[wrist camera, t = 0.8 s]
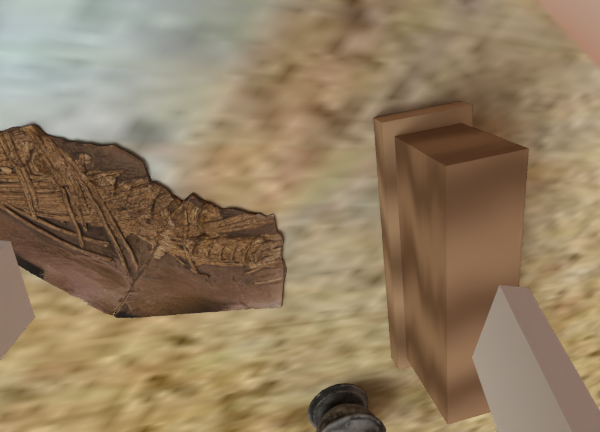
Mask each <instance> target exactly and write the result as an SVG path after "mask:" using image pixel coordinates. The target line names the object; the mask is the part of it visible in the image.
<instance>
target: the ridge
mask: <svg viewBox="0 0 600 432" xmlns="http://www.w3.org/2000/svg"><path fill="white" fill-rule="evenodd" d="M472 114H473V105H471V104H468V103H464V102H461V101H459V102H454V103H449V104H443V105H438V106H433V107H428V108H423V109H418V110H412V111H407V112H402V113H397V114H392V115H387V116H381V117H376V118H374V131H375V145H376V158H377V171H378V185H379V198H380V211H381V225H382V238H383V252H384V265H385V278H386V292H387V305H388V318H389V332H390V345H391V358H392V359H393V361H394V363H395V365H396V366H397V368H398V370H401V369H405V368H409V367H413V369H414V370H415V372H416V374H417V375H418V377H419V379H420V380H421V382H422V383H423V385H424V387H425V388H426V390H427V392H428V393H429V395H430V397H431V398H432V400H433V401H434V403H435V405H436V406H437V408H438V410H439V411H440V413H441V414H442V416H443V418H444V419H445V421H446V423H447V424H451V423H454V422H458V421H461V420H465V419H468V418H472V417H475V416H479V415H482V414H486V413H489V412H491V411H490V408H489V405H488V403H487V400H486V397H485V394H484V391H483V388H482V385H481V382H480V379H479V376H478V373H477V370H476V367H475V364H474V362H473V359H472V356H473V354H474V351H475V348H476V346H477V343H478V340H479V338H480V335H481V332H482V330H483V327H484V324H485V322H486V319H487V316H488V314H489V311H490V309H491V306H492V303H493V301H494V298H495V295H496V293H497V290H498V287H499V285H505V286H516V287H519V276H520V262H521V248H522V235H523V221H524V207H525V193H526V179H527V166H528V152H529V149H528V148H526V147H523V146H520V145H518V144H515V143H513V142H510V141H507V140H505V139H502V138H500V137H497V136H494V135H492V134H489V133H486V132H484V131H481V130H479V129H476V128H473V127H472Z"/></svg>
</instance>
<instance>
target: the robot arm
mask: <svg viewBox="0 0 600 432" xmlns="http://www.w3.org/2000/svg"><path fill="white" fill-rule="evenodd" d="M34 317H35V316H34V312H33V309H32V306H31V303H30V300H29V297H28V294H27V291H26V288H25V285H24V281H23V278H22V275H21V272H20V269H19V266H18V263H17V260H16V257H15V254H14V251H13V247H12V244H11V241H1V240H0V360H1V358H2V357H3V356H4V355H5V353H6V352H7V351H8V350H9V349H10V347H11V346H12V345H13V344H14V342H15V341H16V340H17V339H18V337H19V336H20V335H21V334H22V332H23V331H24V330H25V329H26V327H27V326H28V325H29V324H30V322H31V321H32V320H33V319H34ZM472 359H473V362H474V364H475V367H476V370H477V373H478V376H479V379H480V382H481V385H482V388H483V391H484V394H485V397H486V400H487V403H488V405H489V408H490V411H491V414H492V417H493V420H494V423H495V426H496V429H497V432H600V411H599V409H598V407H597V405H596V404H595V402H594V400H593V398H592V397H591V395H590V393H589V391H588V390H587V388H586V386H585V385H584V383H583V381H582V379H581V378H580V376H579V374H578V372H577V371H576V369H575V367H574V366H573V364H572V362H571V360H570V359H569V357H568V355H567V353H566V352H565V350H564V348H563V346H562V345H561V343H560V341H559V340H558V338H557V336H556V334H555V333H554V331H553V329H552V327H551V326H550V324H549V322H548V320H547V319H546V317H545V315H544V314H543V312H542V310H541V308H540V307H539V305H538V303H537V301H536V300H535V298H534V296H533V294H532V293H531V291H530V289H529V288H527V287H516V286H505V285H499V287H498V290H497V293H496V295H495V298H494V301H493V303H492V306H491V309H490V311H489V314H488V316H487V319H486V322H485V324H484V327H483V330H482V332H481V335H480V338H479V340H478V343H477V346H476V348H475V351H474V354H473V356H472Z"/></svg>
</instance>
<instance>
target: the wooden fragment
mask: <svg viewBox="0 0 600 432" xmlns="http://www.w3.org/2000/svg"><path fill="white" fill-rule="evenodd" d="M0 240H1V241H11V244H12V247H13V251H14V254H15V257H16V260H17V263H18V265H19V266H21V267H22V268H24V269H25V270H27V271H29V272H30V273H32V274H34V275H36V276H37V277H40V278H41V279H43V280H45V281H47V282H49V283H50V284H52V285H54V286H56V287H58V288H60V289H62V290H64V291H65V292H67V293H69V294H70V295H72V296H74V297H78V298H80V299H83V300H84V301H85V302H88V305H90V306H93V307H94V308H96V309H98V310H100V311H102V312H103V313H106V314H110V315H113V313H114V311H116V309H117V308H119V309H118V310H117V312H115V314H114V316H115V317H117V318H133V317H150V316H165V315H176V314H189V313H202V312H219V311H229V310H241V309H251V308H253V309H262V308H279V307H281V306H282V298H283V289H284V281H285V277H286V272H287V268H286V264H285V262H284V260H283V259H282V251H281V250H282V245H283V238H282V236H281V235H280V234H279V233H278V232H277V231H276V226H275V219H274V215H273V214H272V215H268V216H265V215H262V214H260V213H257V214H254V213H253V214H247V213H246V212H244V211H242V210H237V209H235V208H234V210H233V209H219V208H218V207H214V206H213V205H212V204H211V203H209V202H205V201H203V200H201V199H200V198H198V197H197V196H195V195H193V194H191V195H190V196H188V197H187V198H186V199H185V200H184V201H182V200H180V199H178V198H177V197H176V196H175V195H173V194H171V193H170V191H168V190H166V189H165V188H164V187H162V186H160V185H158V184H156V183H155V182H151V180H150V177H149V175H148V173H147V170H146V169H145V167H144V164H143V162H142V161H140V160H139V159H137V158H136V157H135V156H133V155H131V154H130V153H128V152H126V151H124V150H121V149H119V148H118V147H116V146H113V145H109V146H101V147H100V146H97V145H93V144H81V143H76V142H66V141H64V140H63V139H60V138H56V137H51V136H49V135H45V134H44V133H43V131H42V130H41V129H40V128H39V127H38V126H36V125H29V126H24V127H12V128H9V129H7V130H5V131H1V132H0Z"/></svg>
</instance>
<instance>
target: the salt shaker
mask: <svg viewBox="0 0 600 432" xmlns="http://www.w3.org/2000/svg"><path fill="white" fill-rule="evenodd" d="M368 403H369V402H368V397H367V395H366V393H365V392H364V390H362V389H361V388H360V387H358V386H355V385H353V384H337V385H334V386H331V387H328V388H326V389H325V390H323V391H321V392H320V393H319V394H318V395H317V396H315V398H314V399H313V400H312V402H311V404H310V406H309V409H308V416H309V420H310V422H311V424H312V425H313V426H314V427H315V428H317V431H316V432H386V428H385V426H384V425H383V423H382V421H380V420H379V419H378V418H376V417H375V415H374V414H373V413H371V412H370V411H369V410H368Z"/></svg>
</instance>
